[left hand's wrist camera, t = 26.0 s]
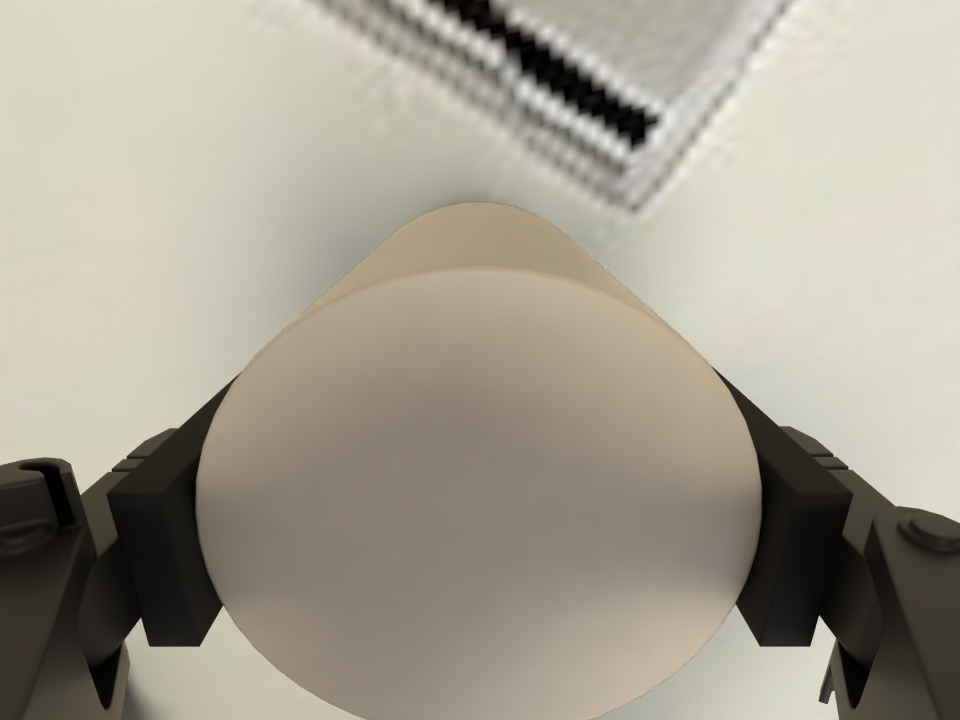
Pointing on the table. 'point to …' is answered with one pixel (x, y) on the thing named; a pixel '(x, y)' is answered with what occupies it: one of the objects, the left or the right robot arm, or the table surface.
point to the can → (478, 483)
